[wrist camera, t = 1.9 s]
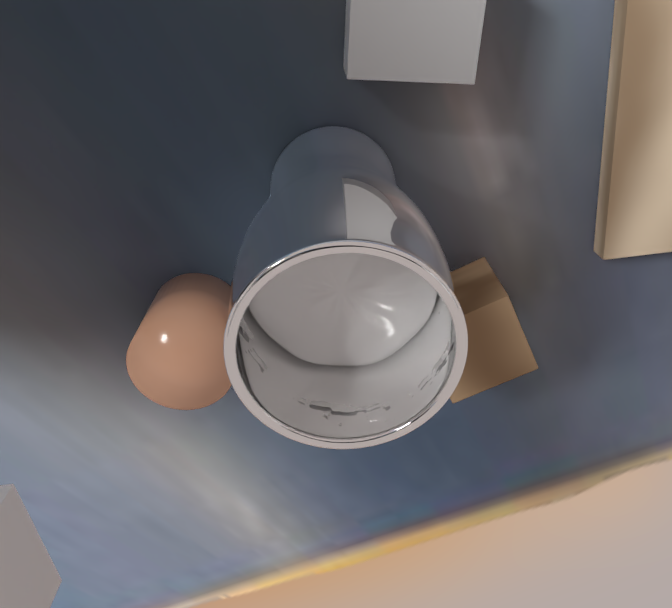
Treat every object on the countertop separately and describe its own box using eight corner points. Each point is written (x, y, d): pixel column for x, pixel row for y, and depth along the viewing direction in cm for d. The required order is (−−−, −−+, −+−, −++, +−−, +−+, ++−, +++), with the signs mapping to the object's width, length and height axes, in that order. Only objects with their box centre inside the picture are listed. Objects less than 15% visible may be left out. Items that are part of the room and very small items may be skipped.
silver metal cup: (322, 279, 32) (326, 492, 18) (231, 178, 29) (158, 340, 16) (432, 199, 30) (525, 371, 16) (345, 83, 27) (373, 175, 14)
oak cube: (437, 354, 34) (452, 403, 30) (404, 292, 32) (417, 335, 28) (512, 322, 33) (538, 368, 29) (483, 256, 31) (508, 295, 27)
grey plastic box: (343, 67, 27) (347, 79, 23) (349, -64, 25) (354, -73, 21) (453, 71, 27) (474, 84, 24) (470, -58, 25) (495, -65, 21)
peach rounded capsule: (165, 359, 34) (142, 415, 29) (141, 279, 31) (112, 327, 27) (253, 348, 33) (244, 403, 29) (236, 267, 31) (222, 313, 27)
